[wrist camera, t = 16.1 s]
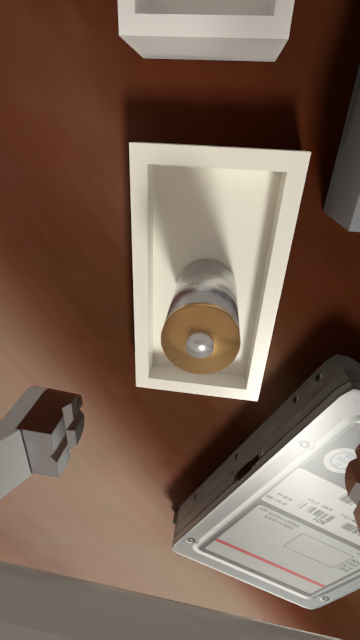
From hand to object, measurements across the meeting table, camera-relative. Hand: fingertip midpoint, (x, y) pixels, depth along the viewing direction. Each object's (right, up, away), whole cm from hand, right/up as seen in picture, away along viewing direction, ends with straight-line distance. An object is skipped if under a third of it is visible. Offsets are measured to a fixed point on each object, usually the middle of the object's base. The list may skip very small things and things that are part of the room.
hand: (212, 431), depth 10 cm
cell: (+1, +6, +13) cm, 14 cm away
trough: (+1, +6, +14) cm, 15 cm away
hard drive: (+13, -13, +23) cm, 30 cm away
